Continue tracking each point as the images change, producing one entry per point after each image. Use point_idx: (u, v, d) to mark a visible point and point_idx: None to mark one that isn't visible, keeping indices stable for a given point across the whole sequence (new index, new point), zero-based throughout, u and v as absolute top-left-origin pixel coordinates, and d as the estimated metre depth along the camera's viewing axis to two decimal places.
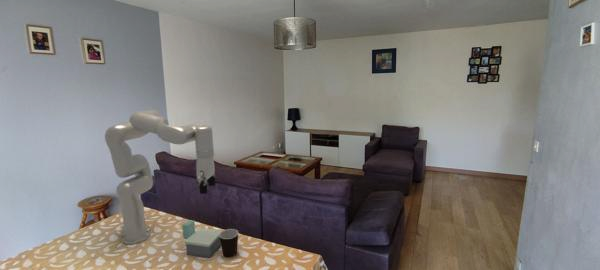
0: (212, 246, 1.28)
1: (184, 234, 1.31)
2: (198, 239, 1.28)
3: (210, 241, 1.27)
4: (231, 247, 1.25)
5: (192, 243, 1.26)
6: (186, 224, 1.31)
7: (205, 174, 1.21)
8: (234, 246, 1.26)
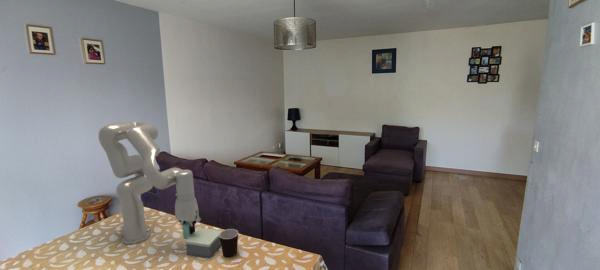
0: (212, 246, 1.28)
1: (184, 234, 1.31)
2: (198, 239, 1.28)
3: (210, 241, 1.27)
4: (231, 247, 1.25)
5: (192, 243, 1.26)
6: (186, 224, 1.31)
7: None
8: (234, 246, 1.26)
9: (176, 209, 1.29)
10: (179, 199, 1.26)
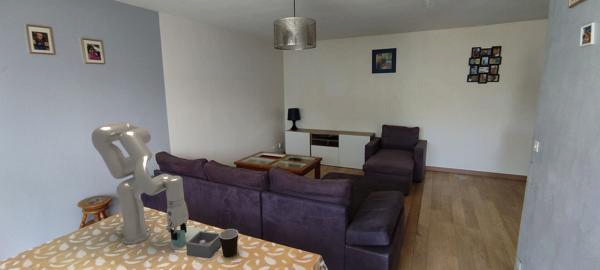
0: (212, 246, 1.28)
1: (182, 241, 1.35)
2: (193, 235, 1.43)
3: (201, 229, 1.49)
4: (231, 247, 1.25)
5: None
6: (181, 231, 1.36)
7: None
8: (234, 246, 1.26)
9: (176, 216, 1.30)
10: (181, 203, 1.32)
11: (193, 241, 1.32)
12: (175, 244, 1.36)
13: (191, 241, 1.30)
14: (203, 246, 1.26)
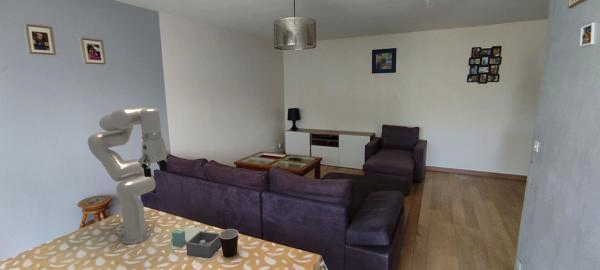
0: (212, 246, 1.28)
1: (182, 241, 1.35)
2: (193, 235, 1.43)
3: (201, 229, 1.49)
4: (231, 247, 1.25)
5: None
6: (181, 231, 1.36)
7: None
8: (234, 246, 1.26)
9: (152, 151, 1.20)
10: (158, 137, 1.21)
11: (193, 241, 1.32)
12: (175, 244, 1.36)
13: (191, 241, 1.30)
14: (203, 246, 1.26)
